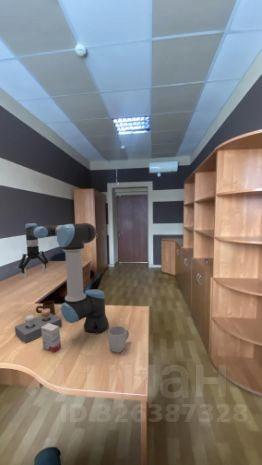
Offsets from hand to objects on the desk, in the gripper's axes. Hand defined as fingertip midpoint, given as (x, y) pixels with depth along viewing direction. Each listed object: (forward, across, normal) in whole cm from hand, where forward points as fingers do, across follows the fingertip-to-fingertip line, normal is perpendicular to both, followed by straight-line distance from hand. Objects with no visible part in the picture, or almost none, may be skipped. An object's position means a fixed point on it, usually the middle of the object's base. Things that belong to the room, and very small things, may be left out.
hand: (34, 275), depth 151 cm
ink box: (+28, +14, +46) cm, 55 cm away
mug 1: (+28, -1, +10) cm, 30 cm away
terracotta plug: (+24, +5, +24) cm, 34 cm away
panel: (+28, +10, +24) cm, 38 cm away
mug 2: (+28, -9, +74) cm, 79 cm away
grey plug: (+24, +15, +24) cm, 37 cm away
